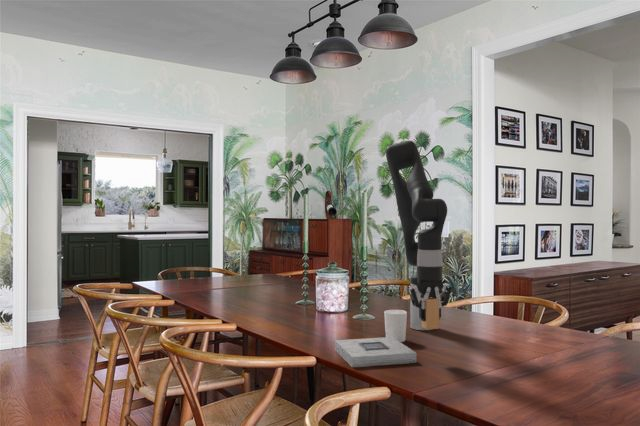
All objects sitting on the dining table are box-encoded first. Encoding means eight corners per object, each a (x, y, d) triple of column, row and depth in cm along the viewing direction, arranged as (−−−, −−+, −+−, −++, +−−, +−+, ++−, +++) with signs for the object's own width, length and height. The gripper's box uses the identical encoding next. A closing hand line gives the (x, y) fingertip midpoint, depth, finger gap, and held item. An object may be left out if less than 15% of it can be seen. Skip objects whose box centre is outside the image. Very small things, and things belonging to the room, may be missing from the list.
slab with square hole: (392, 345, 171) (392, 335, 171) (416, 362, 152) (416, 351, 152) (334, 349, 167) (334, 339, 167) (352, 367, 147) (352, 356, 147)
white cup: (389, 343, 174) (389, 314, 174) (380, 338, 182) (380, 310, 182) (410, 342, 176) (410, 313, 176) (401, 336, 184) (401, 309, 184)
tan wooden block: (433, 325, 158) (433, 296, 157) (439, 328, 154) (439, 299, 154) (421, 326, 157) (421, 297, 157) (426, 329, 153) (426, 299, 153)
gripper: (445, 262, 160) (445, 316, 160) (403, 263, 157) (403, 319, 157) (457, 264, 153) (457, 321, 153) (413, 266, 150) (413, 324, 150)
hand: (430, 320), depth 155 cm, fingers closed on tan wooden block, 4 cm apart
